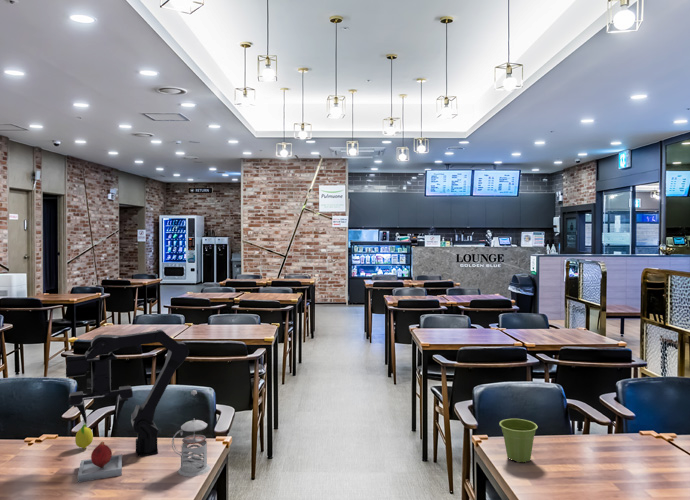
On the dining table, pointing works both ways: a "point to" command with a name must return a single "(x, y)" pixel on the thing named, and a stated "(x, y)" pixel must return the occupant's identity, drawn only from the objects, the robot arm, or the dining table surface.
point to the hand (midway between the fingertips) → (101, 421)
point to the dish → (100, 469)
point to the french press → (193, 449)
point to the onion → (101, 455)
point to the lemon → (84, 437)
